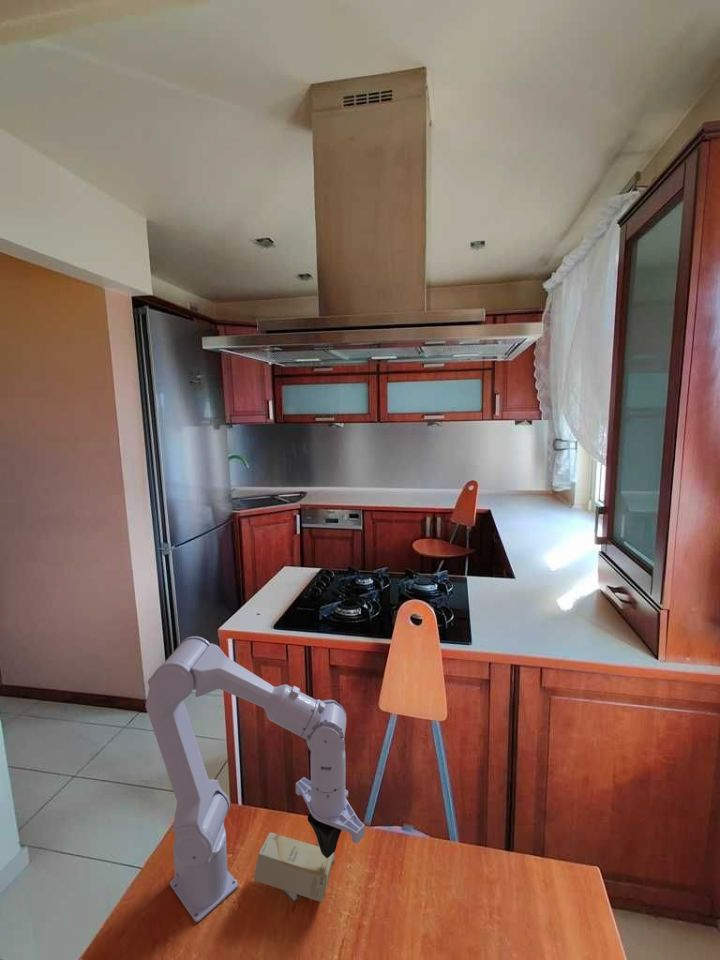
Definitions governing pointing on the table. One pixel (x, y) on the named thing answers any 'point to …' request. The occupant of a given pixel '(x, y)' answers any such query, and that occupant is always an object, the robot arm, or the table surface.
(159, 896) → the table surface
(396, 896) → the table surface
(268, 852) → the skincare box
